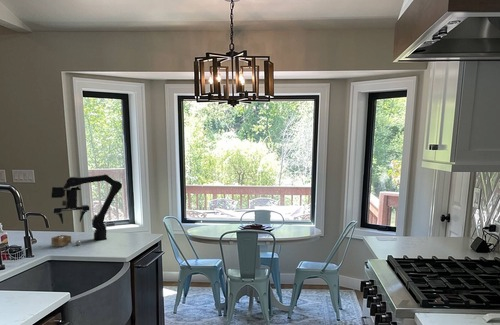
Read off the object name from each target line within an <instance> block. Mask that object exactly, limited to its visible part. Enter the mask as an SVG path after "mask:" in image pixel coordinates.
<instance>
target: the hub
mask: <svg viewBox="0 0 500 325" xmlns="http://www.w3.org/2000/svg"><path fill="white" fill-rule="evenodd" d="M63 237H64V236H61V237H59V238H63ZM68 245H69V243H68V244H65V245H62V246H57V245H53V247H55V248H62V247H63V248H64V247H67V246H68Z"/></svg>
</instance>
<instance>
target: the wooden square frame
mask: <svg viewBox="0 0 500 325" xmlns="http://www.w3.org/2000/svg"><path fill="white" fill-rule="evenodd" d="M61 236H64V237H63V238H59V237H61ZM50 241H51V242H50V244H51V245H53V246H54V245H57V246H62V245H65V244H68V245H69V244H71V243H72V236H71V235H66V234H60V235H56V236H53V237H51V240H50Z"/></svg>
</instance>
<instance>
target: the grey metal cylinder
mask: <svg viewBox="0 0 500 325" xmlns="http://www.w3.org/2000/svg"><path fill="white" fill-rule="evenodd" d="M75 246H76V247H79V246H81V240H76V241H75Z"/></svg>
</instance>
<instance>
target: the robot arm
mask: <svg viewBox="0 0 500 325" xmlns="http://www.w3.org/2000/svg"><path fill="white" fill-rule="evenodd" d="M97 182H106V183H108V184H109V185H110V187H109V191H108V195H107V196H106V198H105V200H104V202H103V204H102V206H101V208H100V210H99V212H98V213H97V214H93V218H92V219H91V225H92V228H93V229H94V231H93V239H94V241H95V242H99V241H106V240H108V238H107V226H106V224H104V221H105V218H106V217H105V216H106V214H107V212H108V210H109V208H110V206H111V204H112V202H113V201H114V199H115V197H116V195H117V194H118V193H119V192H120V191H121V189H122V187H123V183H122V182H121V181H119V180H116V179H115V180H114V178H111V177H110V176H109V175H108V174H105V173H104V174H100V175H93V176H91V175H90V176H84V177H82V176H69V177H68V178H67V179H66V183H65V184H64V185H63V186H52V189H51V199H63V198H64V197H65V200H61V206H54V207H52V213H53V214H56V215H58V216H59V219H60V222H61V224H62V225H63V224H64V218H63V216H64V215H63V212H66V211H79V220H78V221H79V223H81V221H82V220H83V217H84V215H85V214H86V213H88V211H90V205H88V204H82V205H80V206H78V191H80V190H82V189H81V187H79V186H81V185H84V184H90V183H97Z"/></svg>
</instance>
